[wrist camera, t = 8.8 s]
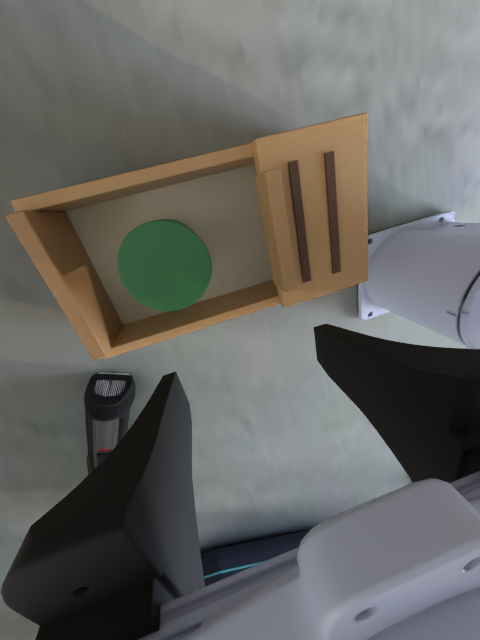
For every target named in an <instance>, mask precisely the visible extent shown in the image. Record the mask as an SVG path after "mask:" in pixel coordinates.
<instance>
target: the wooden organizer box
mask: <svg viewBox="0 0 480 640" xmlns="http://www.w3.org/2000/svg"><path fill="white" fill-rule="evenodd" d="M11 204H12V205H13V207H14V209H15V210H16V212H12V213H8V214H6V215H5V217H6V218H7V220H8V222H9V223H10V225H11V226H12V228H13V230H14V231H15V233H16V235H17V236H18V238H19V240H20V241H21V243H22V245H23V246H24V248H25V249H26V251H27V253H28V254H29V256H30V258H31V259H32V261H33V263H34V264H35V266H36V267H37V269H38V271H39V272H40V274H41V276H42V277H43V279H44V281H45V282H46V284H47V286H48V287H49V289H50V290H51V292H52V294H53V295H54V297H55V299H56V300H57V302H58V304H59V305H60V307H61V309H62V310H63V312H64V313H65V315H66V317H67V318H68V320H69V322H70V323H71V325H72V327H73V328H74V330H75V332H76V333H77V335H78V336H79V338H80V340H81V341H82V343H83V345H84V346H85V348H86V350H87V351H88V353H89V355H90V356H91V358H92V359H93V360H95V359H99V358H102V359H106V358H109V357H113V356H116V355H119V354H122V353H125V352H128V351H132V350H135V349H138V348H141V347H144V346H147V345H151V344H154V343H157V342H160V341H163V340H166V339H170V338H173V337H176V336H179V335H182V334H185V333H188V332H192V331H195V330H198V329H201V328H204V327H207V326H211V325H214V324H217V323H220V322H223V321H226V320H230V319H233V318H236V317H239V316H242V315H245V314H248V313H252V312H255V311H258V310H261V309H264V308H267V307H271V306H274V305H277V304H281V305H282V306H283V307H288V306H291V305H294V304H297V303H300V302H303V301H306V300H310V299H313V298H316V297H319V296H322V295H325V294H328V293H332V292H335V291H338V290H341V289H344V288H347V287H350V286H353V285H357V284H360V283H363V282H366V281H368V167H367V113H361V114H357V115H353V116H348V117H344V118H340V119H336V120H332V121H327V122H323V123H319V124H315V125H311V126H306V127H302V128H298V129H294V130H290V131H285V132H281V133H277V134H273V135H268V136H264V137H260V138H256V139H255V140H254V141H253V142H252V143H249V144H245V145H241V146H236V147H232V148H228V149H224V150H220V151H215V152H211V153H207V154H203V155H199V156H195V157H190V158H186V159H182V160H178V161H174V162H169V163H165V164H161V165H157V166H153V167H148V168H144V169H140V170H136V171H132V172H128V173H123V174H119V175H115V176H111V177H107V178H102V179H98V180H94V181H90V182H86V183H81V184H77V185H73V186H69V187H65V188H61V189H56V190H52V191H48V192H44V193H40V194H35V195H31V196H27V197H23V198H19V199H15V200H11ZM160 219H173V220H177V221H180V222H182V223H184V224H186V225H187V226H189V227H190V228H191V229H192V230H193V231H194V232H195V233H196V234H197V235H198V236H199V237H200V239H201V240H202V241H203V243H204V244H205V246H206V247H207V249H208V252H209V254H210V258H211V262H212V275H211V280H210V283H209V286H208V288H207V290H206V291H205V293H204V294H203V295H202V297H201V298H200V299H199V300H198V301H197V302H195V303H194V304H192V305H190V306H189V307H187V308H184V309H181V310H177V311H159V310H155V309H152V308H149V307H147V306H145V305H143V304H141V303H140V302H138V301H137V300H136V299H134V298H133V297H132V296H131V295H130V294H129V293H128V291H127V290H126V289H125V287H124V285H123V284H122V282H121V279H120V276H119V273H118V267H117V257H118V252H119V249H120V246H121V244H122V242H123V240H124V239H125V237H126V236H127V235H128V234H129V233H130V232H131V231H132V230H133V229H135V228H136V227H137V226H139V225H141V224H143V223H146V222H149V221H155V220H160Z"/></svg>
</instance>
